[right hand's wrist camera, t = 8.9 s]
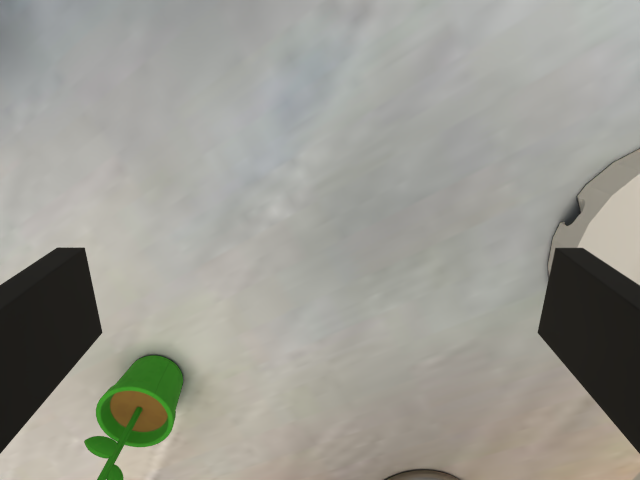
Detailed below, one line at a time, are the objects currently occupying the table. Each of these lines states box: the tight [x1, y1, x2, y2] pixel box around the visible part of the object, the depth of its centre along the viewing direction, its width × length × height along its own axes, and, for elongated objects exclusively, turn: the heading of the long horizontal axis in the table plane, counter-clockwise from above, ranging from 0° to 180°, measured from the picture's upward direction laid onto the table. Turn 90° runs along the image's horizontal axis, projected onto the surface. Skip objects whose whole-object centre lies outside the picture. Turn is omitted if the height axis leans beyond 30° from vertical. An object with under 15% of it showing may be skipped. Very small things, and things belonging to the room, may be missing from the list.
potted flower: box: [84, 355, 183, 480], centre depth 39 cm, size 9×8×25 cm
